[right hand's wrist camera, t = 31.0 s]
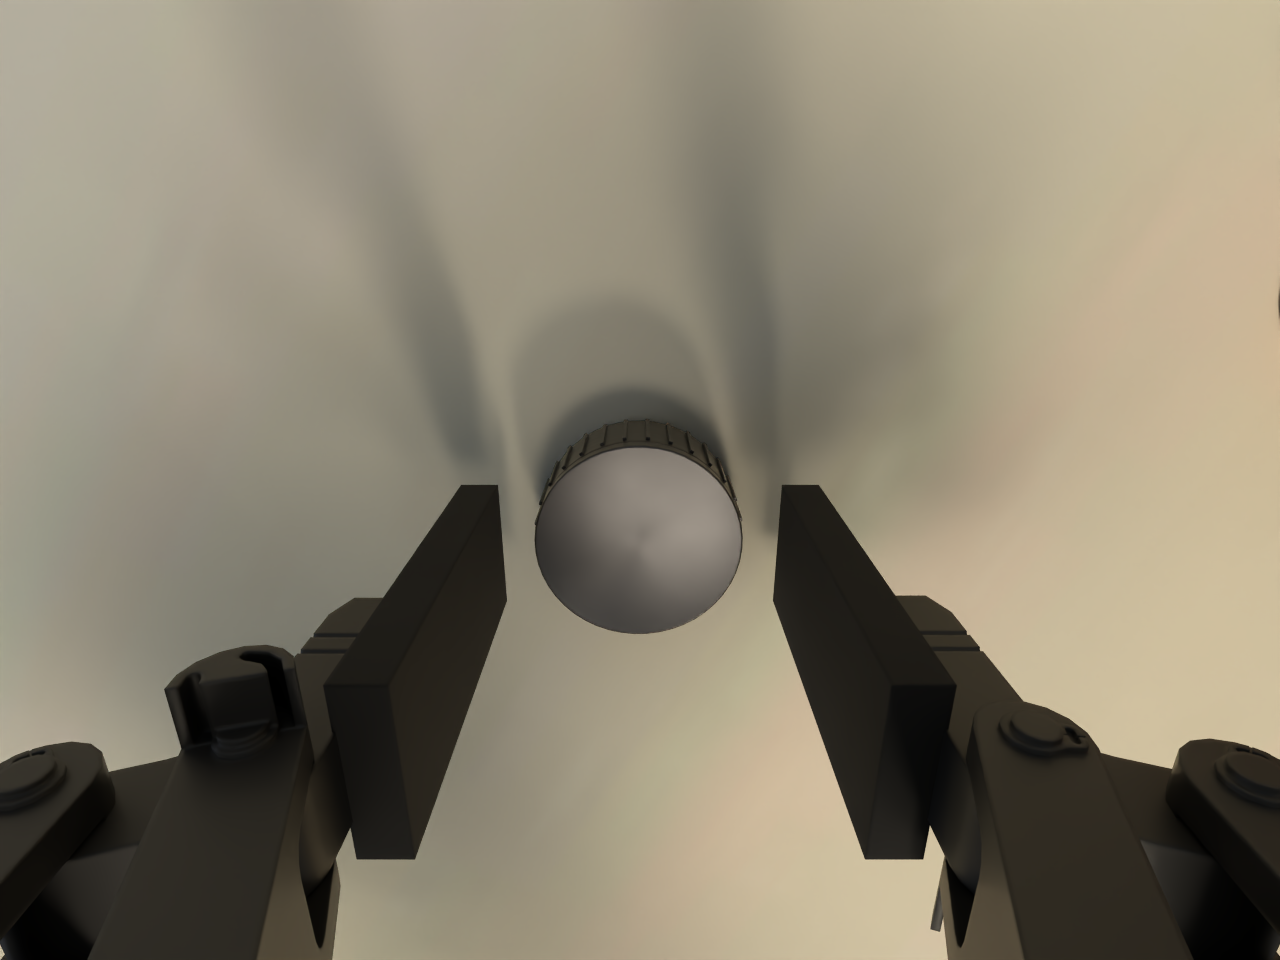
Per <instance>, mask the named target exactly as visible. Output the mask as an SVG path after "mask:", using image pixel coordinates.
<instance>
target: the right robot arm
mask: <svg viewBox="0 0 1280 960" xmlns="http://www.w3.org/2000/svg"><path fill="white" fill-rule="evenodd" d="M506 602H507V595H506V583H505V570H504V557H503V544H502V531H501V518H500V505H499V492H498V485H461V486H460V488H459V489H458V490H457V492H456V493H455V495H454V496H453V498H452V499H451V501H450V502H449V503H448V505H447V506H446V508H445V509H444V511H443V512H442V514H441V515H440V517H439V518H438V519H437V521H436V522H435V524H434V525H433V527H432V528H431V530H430V531H429V532H428V534H427V535H426V537H425V538H424V540H423V541H422V543H421V544H420V545H419V547H418V548H417V550H416V551H415V553H414V554H413V556H412V557H411V558H410V560H409V561H408V563H407V564H406V566H405V567H404V569H403V570H402V572H401V573H400V574H399V576H398V577H397V579H396V580H395V582H394V583H393V585H392V586H391V587H390V589H389V590H388V592H387V593H386V595H385V596H384V598H354V599H352V600H351V601H349V602H347V603H346V604H344V605H343V606H341V607H340V608H338V609H337V610H335V611H334V612H332V613H330V614H329V615H328V616H327V618H326V619H325V620H324V621H323V623H322V624H321V625H320V626H319V628H318V629H317V630H316V631H315V633H314V636H313V637H311V638H310V639H309V640H308V641H307V643H306V644H305V645H304V646H303V648H302V649H301V653H300V654H297V655H296V656H295V657H294V656H292V655H291V654H290V653H289V652H287V651H286V650H285V649H283V648H278V647H274V646H269V645H258V646H243V647H239V648H235V649H231V650H227V651H222V652H219V653H217V654H214V655H212V656H209V657H207V658H205V659H202V660H200V661H198V662H196V663H194V664H192V665H191V666H189V667H188V668H186V669H185V670H183V671H182V672H180V673H179V674H177V675H176V676H175V677H174V679H173V680H172V681H171V682H170V683H169V684H168V685H167V687H166V688H165V689H164V690H165V694H166V697H167V701H168V704H169V707H170V711H171V714H172V718H173V721H174V725H175V728H176V731H177V735H178V738H179V742H180V745H181V748H182V749H181V751H180V754H179V756H177V757H174V758H170V759H167V760H162V761H157V762H153V763H148V764H144V765H139V766H134V767H130V768H125V769H120V770H116V771H111V772H109V771H108V768H107V766H106V763H105V760H104V757H103V754H102V752H101V751H100V750H99V749H97V748H96V747H95V746H93V745H92V744H88V743H79V742H66V743H59V744H53V745H46V746H43V747H39V748H35V749H32V750H31V751H29V750H28V751H26V752H23V753H20V754H18V755H15V756H13V757H11V758H10V759H8V760H6V761H4V762H2V763H0V945H1V947H2V949H3V951H4V954H5V955H4V956H3V958H2V959H1V960H332V956H333V947H334V939H335V930H336V921H337V912H338V904H339V895H340V879H339V872H338V867H337V862H336V856H337V854H338V852H339V850H340V848H341V846H342V844H343V842H344V840H345V838H346V836H347V833H348V831H349V829H350V827H351V832H352V837H353V843H354V848H355V853H356V858H357V859H415V858H416V855H417V852H418V849H419V846H420V844H421V841H422V838H423V835H424V832H425V829H426V827H427V824H428V821H429V818H430V815H431V813H432V810H433V807H434V804H435V801H436V799H437V796H438V793H439V790H440V787H441V784H442V782H443V779H444V776H445V773H446V770H447V768H448V765H449V762H450V759H451V756H452V754H453V751H454V748H455V745H456V742H457V739H458V737H459V734H460V731H461V728H462V725H463V723H464V720H465V717H466V714H467V711H468V709H469V706H470V703H471V700H472V697H473V694H474V692H475V689H476V686H477V683H478V680H479V678H480V675H481V672H482V669H483V666H484V664H485V661H486V658H487V655H488V652H489V650H490V647H491V644H492V641H493V638H494V635H495V633H496V630H497V627H498V624H499V621H500V619H501V616H502V613H503V610H504V607H505V605H506ZM773 602H774V605H775V607H776V610H777V613H778V616H779V619H780V621H781V624H782V627H783V630H784V633H785V635H786V638H787V641H788V644H789V647H790V650H791V652H792V655H793V658H794V661H795V664H796V666H797V669H798V672H799V675H800V678H801V680H802V683H803V686H804V689H805V692H806V695H807V697H808V700H809V703H810V706H811V709H812V711H813V714H814V717H815V720H816V723H817V725H818V728H819V731H820V734H821V737H822V740H823V742H824V745H825V748H826V751H827V754H828V756H829V759H830V762H831V765H832V768H833V770H834V773H835V776H836V779H837V782H838V785H839V787H840V790H841V793H842V796H843V799H844V801H845V804H846V807H847V810H848V813H849V815H850V818H851V821H852V824H853V827H854V830H855V832H856V835H857V838H858V841H859V844H860V846H861V849H862V852H863V855H864V858H865V859H923V858H924V853H925V848H926V842H927V837H928V832H929V827H930V826H931V828H932V830H933V832H934V834H935V836H936V838H937V840H938V842H939V844H940V847H941V849H942V851H943V853H944V855H945V857H944V862H943V867H942V872H941V876H940V881H939V886H938V891H937V896H936V900H935V905H934V910H933V915H932V922H931V929H932V930H935V931H939V932H940V929H941V924H942V920H943V919H944V928H945V937H946V946H947V954H948V960H1280V956H1279V955H1278V953H1277V952H1276V951H1277V949H1278V947H1279V945H1280V760H1279V759H1277V758H1275V757H1273V756H1271V755H1270V754H1268V753H1266V752H1264V751H1261V750H1258V749H1256V748H1250V747H1249V746H1246V745H1242V744H1239V743H1235V742H1228V741H1222V740H1215V739H1202V740H1193V741H1189V742H1188V743H1186V744H1185V745H1184V746H1182V747H1181V748H1180V749H1179V751H1178V754H1177V757H1176V760H1175V763H1174V766H1173V768H1172V769H1169V768H1165V767H1160V766H1155V765H1151V764H1146V763H1141V762H1137V761H1132V760H1127V759H1123V758H1118V757H1114V756H1110V755H1107V754H1103V753H1101V752H1100V750H1099V748H1098V747H1097V745H1096V744H1095V743H1094V741H1093V740H1092V739H1091V737H1090V736H1089V734H1088V733H1087V732H1086V731H1084V730H1083V729H1082V728H1080V727H1079V726H1078V725H1076V724H1075V723H1074V722H1073V721H1071V720H1070V719H1069V718H1067V717H1064V716H1062V715H1060V714H1058V713H1056V712H1054V711H1052V710H1050V709H1048V708H1045V707H1042V706H1038V705H1035V704H1031V703H1027V702H1024V701H1023V700H1022V699H1021V698H1020V697H1019V695H1018V694H1017V693H1016V692H1015V690H1014V689H1013V688H1012V687H1011V685H1010V684H1009V683H1008V682H1007V680H1006V679H1005V678H1004V677H1003V676H1002V674H1001V673H1000V672H999V671H998V669H997V668H996V667H995V666H994V664H993V663H992V662H991V661H990V659H989V658H988V657H987V656H986V654H985V653H984V652H983V651H980V647H979V646H978V645H977V643H976V642H975V641H974V640H973V638H972V637H971V636H970V635H967V631H966V630H965V628H964V627H963V626H962V625H961V623H960V622H959V621H958V620H957V619H956V617H955V616H954V615H953V614H952V612H950V611H949V610H947V609H946V608H944V607H943V606H941V605H939V604H938V603H936V602H935V601H933V600H932V599H930V598H929V597H927V596H895V595H894V593H893V592H892V590H891V589H890V587H889V586H888V585H887V583H886V582H885V580H884V579H883V577H882V576H881V574H880V573H879V572H878V570H877V569H876V567H875V566H874V564H873V563H872V561H871V560H870V559H869V557H868V556H867V554H866V553H865V551H864V550H863V548H862V547H861V545H860V544H859V543H858V541H857V540H856V538H855V537H854V535H853V534H852V532H851V531H850V530H849V528H848V527H847V525H846V524H845V522H844V521H843V519H842V518H841V517H840V515H839V514H838V512H837V511H836V509H835V508H834V506H833V505H832V504H831V502H830V501H829V499H828V498H827V496H826V495H825V493H824V492H823V490H822V489H821V488H820V486H819V485H782V492H781V505H780V518H779V531H778V544H777V557H776V569H775V582H774V595H773Z"/></svg>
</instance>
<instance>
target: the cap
mask: <svg viewBox="0 0 1280 960" xmlns="http://www.w3.org/2000/svg"><path fill="white" fill-rule="evenodd" d="M736 501H737V499H736V496H735V493H734V490H733V487H732V485H731V482H730V479H729V476H728V475H726V476H725V474H724V471H723V468H722V465H721V462H720V460H719V458H715V457H714V456H713V455H712V453H711V452H710V451H709V450H708V448H707V445H706V444H705V443H703V444H702V443H700V442H699V441H698V440H696V439H695V438H694V437H692V436H691V435H690V432H688V431H686V433H685V432H683V431H682V430H679V429H677V428H674V427H672V426H671V425H670V423H667V424H666V425H665V424H661V423H657V422H649V419H646V420H645V421H628V420H624V422H621V423H616V424H612V425H609V426H607V424H605V425H603V428H601V429H598V430H596V431H594V432H592V433H590V434H589V435H588V433H586V434H584V437H583V438H582V439H581V440H580V441H579V442H577V443H576V444H575V445H574V446H573V447H572V446H571V445H570V446H569V447H568V449H567V452H566V454H565V455H564V457H563V458H562V459H561V461H560V462H559V461H557V462H556V464H555V466H554V469H553V472H552V475H551V478H550V479H548V480H547V483H546V486H545V489H544V491H543V494H542V497H541V500H540V502H539V505H541V506H540V509H539V512H538V515H537V518H536V520H535V525H536V527H535V551H536V556H537V561H538V565H539V567H540V570H541V573H542V575H543V577H544V579H545V581H546V583H547V585H548V586H549V588H550V589H551V590H552V592H553V593H554V595H555V596H556V597H557V598H558V599H559V600H560V601H561V602H562V603H563V605H564V606H566V607H567V608H568V609H569V610H571V611H572V612H573V613H574V614H576V615H577V616H579V617H581V618H582V619H584V620H585V621H588V622H590V623H592V624H594V625H596V626H599V627H602V628H605V629H608V630H612V631H616V632H621V633H631V634H648V633H656V632H662V631H666V630H670V629H673V628H676V627H679V626H681V625H684V624H686V623H688V622H690V621H692V620H694V619H696V618H697V617H699V616H700V615H702V614H703V613H705V612H706V611H707V610H708V609H709V608H710V607H712V606H713V605H714V604H715V603H716V602H717V601H718V600H719V599H720V597H721V596H722V595H723V594H724V593H725V591H726V590H727V588H728V587H729V585H730V584H731V582H732V580H733V578H734V576H735V574H736V571H737V568H738V565H739V562H740V558H741V552H742V539H743V536H742V526H741V521H742V517H741V514H740V511H739V508H738V505H737V503H736Z"/></svg>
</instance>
